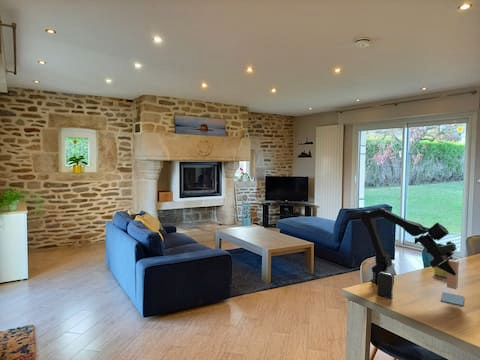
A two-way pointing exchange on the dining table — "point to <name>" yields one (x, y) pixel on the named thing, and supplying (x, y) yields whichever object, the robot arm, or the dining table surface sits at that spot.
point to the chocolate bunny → (439, 271)
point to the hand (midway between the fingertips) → (456, 274)
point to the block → (451, 279)
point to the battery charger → (385, 284)
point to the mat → (452, 299)
